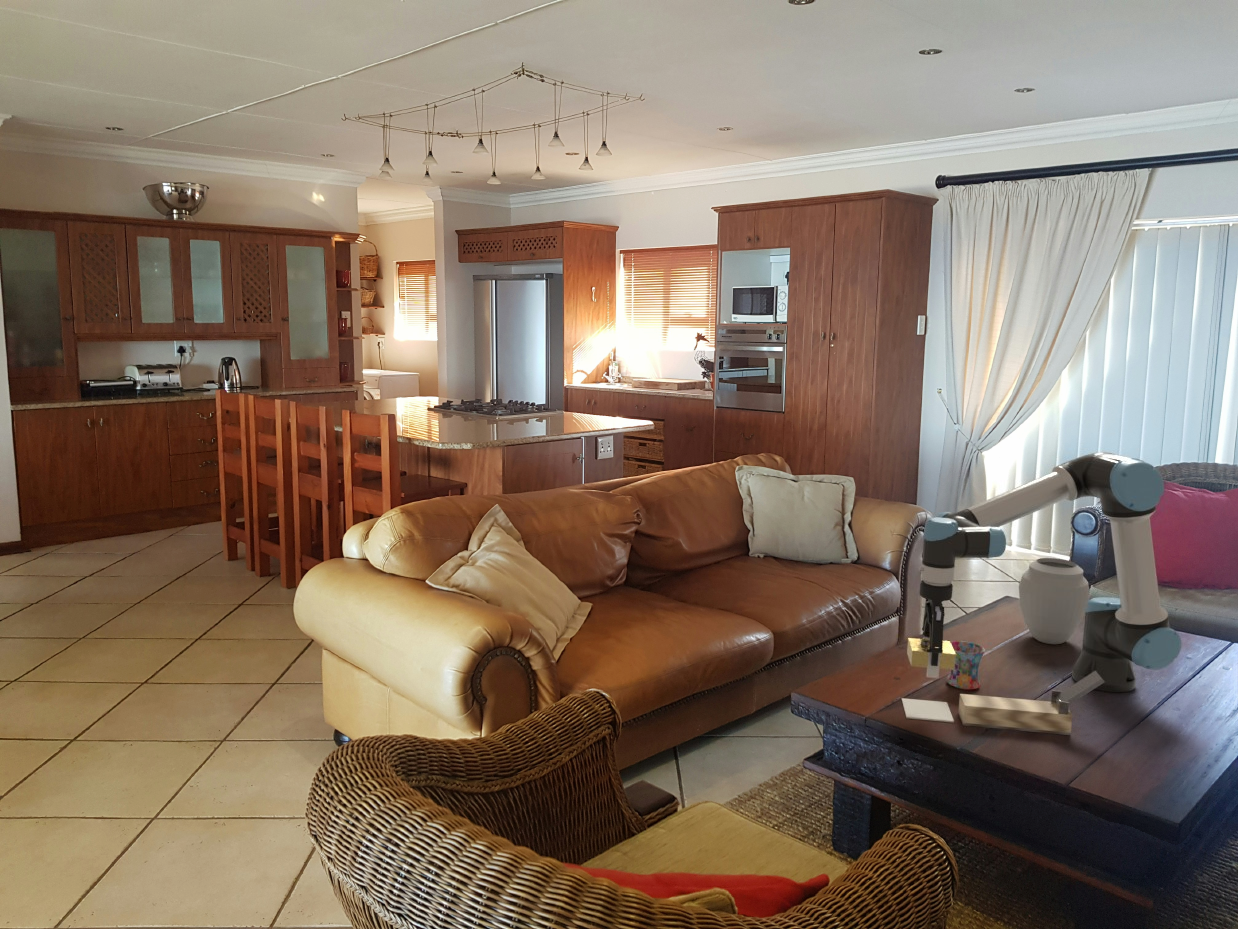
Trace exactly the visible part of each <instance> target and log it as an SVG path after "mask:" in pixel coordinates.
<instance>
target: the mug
mask: <svg viewBox="0 0 1238 929" xmlns="http://www.w3.org/2000/svg"><path fill="white" fill-rule="evenodd" d="M950 643H951V645H952V647H953V649H954V651H955V654H956V658H955V670H950V671H949V674H948V676H947V677H946V682H947V684H949V685H950V686H952V687H955V688H957V689H961V690H976V689H979V688H980V687H981V682H980V678H979V667H980V663H981V659H982V657H983V656H984V654H985V653H986V649H985V648H984V647H983V645H981V644H978V643H975V642H970V641H966V640H965V641H963V640H962V641H961V640H960V641H959V640H958V641H957V640H955V641H950Z"/></svg>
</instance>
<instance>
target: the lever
mask: <svg viewBox="0 0 1238 929" xmlns="http://www.w3.org/2000/svg"><path fill="white" fill-rule="evenodd" d="M1104 682H1105V681H1104V680H1103V679H1102V678H1101V677H1100V675H1099V674H1098V673H1097V672H1096V671H1094V672H1092V673H1091V674H1089V675H1088V676H1086V677H1085V678H1083V679H1082V680H1080V681H1079V682H1077V681H1076V682H1075V683H1074V684H1073V685H1071V686H1069V687H1068V688H1066V689H1065V690H1063V691H1061V693H1060V694H1059V695H1056V696H1054V699H1055V700H1056V702H1057V703H1058V705H1059V701H1063V702H1069V706H1070V705H1072V704H1073V703H1075V702H1076V701H1078V700H1080V699H1081V698H1083V697H1084V696H1085V695H1087V694H1088V693H1090V692H1091V691H1093V690H1096V689H1095V688H1096V687H1098V686H1099V685H1101V684H1103V683H1104Z"/></svg>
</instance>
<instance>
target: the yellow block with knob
mask: <svg viewBox="0 0 1238 929" xmlns="http://www.w3.org/2000/svg"><path fill="white" fill-rule="evenodd" d="M935 648H938V647H935ZM927 649H930V640H928V639H923V638H913V637H908V638H907V649H906V650H907V651H906V654H907V657H908V660H909V663H910V664H909V665H910V666H911V667H914V668H915V667H916V668H924V669H925V668H926V669H927V663H928V652H927V651H926V650H927ZM942 650H943V652H942V653H941V654H940V667H939V670H948V671H949V670H950V671H951V670H955V658H956V654H955V651H954V649H953V647H952V645H951V641H948V640H943V648H942Z"/></svg>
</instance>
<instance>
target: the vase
mask: <svg viewBox="0 0 1238 929" xmlns="http://www.w3.org/2000/svg"><path fill="white" fill-rule="evenodd" d="M1018 595H1019V597H1018V598H1019V606H1020V610H1021V614H1022V617H1023V621H1024V623H1025V625H1026V628H1027V629H1028V631H1029V633H1030V634H1031V636H1032V637H1033V638H1034V639H1035V640H1037V641H1038V642H1041V643H1043V644H1047V645H1060V644H1063V643H1065V642H1066V641H1068V640H1069V639H1070V638H1071V637H1072V636H1073V635H1074V634H1075V632H1076V631H1077V630H1078V628H1079V626H1080V624H1081V622H1082V621H1083V619H1084V618H1085V614H1086V613H1085V611H1086V607H1087V603H1088V601H1089V600H1090V599H1091V598H1090V597H1091V593H1090V587H1089V582H1088V580H1087V579H1086V577H1084V569H1083V568H1082V567H1080V566H1079V565H1078V564H1077V563H1075V562H1073V561H1070V560H1067V559H1062V558H1054V557H1053V558H1052V557H1042V558H1041V557H1040V558H1038V559H1036V560H1034V561H1032V562H1030V563H1029V565H1028V569H1027V570H1025V572H1023V573H1022V574H1021V578H1020V582H1019V584H1018Z"/></svg>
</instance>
